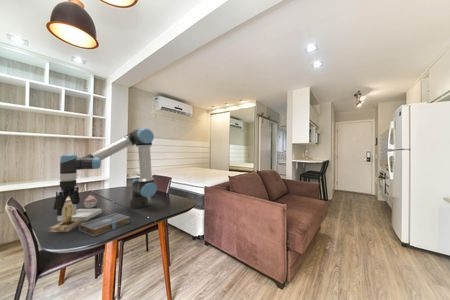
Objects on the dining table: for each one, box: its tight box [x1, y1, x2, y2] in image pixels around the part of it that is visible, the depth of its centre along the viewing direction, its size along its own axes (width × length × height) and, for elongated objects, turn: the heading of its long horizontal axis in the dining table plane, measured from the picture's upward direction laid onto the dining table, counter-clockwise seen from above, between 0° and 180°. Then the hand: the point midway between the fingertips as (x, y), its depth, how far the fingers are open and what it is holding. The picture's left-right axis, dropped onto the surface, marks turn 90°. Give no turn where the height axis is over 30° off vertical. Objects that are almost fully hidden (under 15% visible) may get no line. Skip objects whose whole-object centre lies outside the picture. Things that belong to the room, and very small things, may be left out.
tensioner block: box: [48, 219, 84, 233], centre depth 103 cm, size 10×12×2 cm
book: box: [78, 212, 131, 238], centre depth 106 cm, size 21×16×5 cm
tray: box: [59, 208, 103, 223], centre depth 120 cm, size 16×16×3 cm
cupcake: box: [83, 194, 98, 209], centre depth 140 cm, size 9×9×10 cm
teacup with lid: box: [60, 196, 72, 208], centre depth 131 cm, size 12×9×12 cm
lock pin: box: [63, 205, 72, 225], centre depth 103 cm, size 4×4×13 cm
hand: (67, 217), depth 103 cm, fingers open, 9 cm apart
